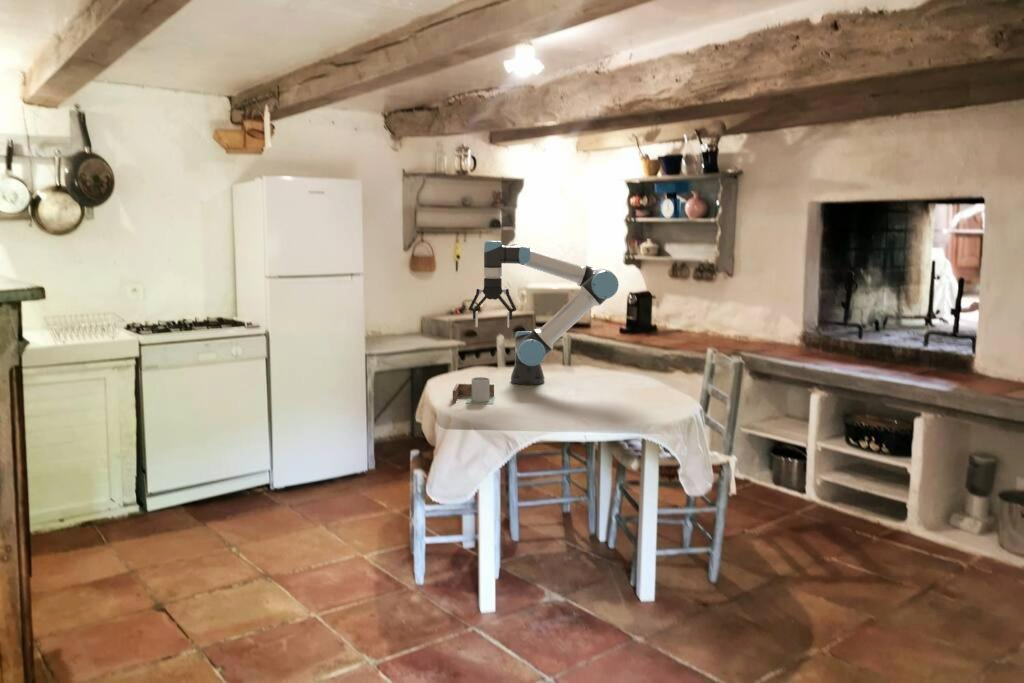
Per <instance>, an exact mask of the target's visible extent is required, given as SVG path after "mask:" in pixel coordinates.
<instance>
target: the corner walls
mask: <svg viewBox="0 0 1024 683" xmlns="http://www.w3.org/2000/svg"><path fill="white" fill-rule="evenodd" d="M468 396H472V383H456V384H455V386H454V387H453V390H452V404H456V403H457V402H456V401H458V400H459V398H460V397H468ZM458 397H459V398H458ZM489 397H495V384H491V383H490V389H489ZM457 399H458V400H457Z"/></svg>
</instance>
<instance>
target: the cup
mask: <svg viewBox="0 0 1024 683" xmlns="http://www.w3.org/2000/svg"><path fill="white" fill-rule="evenodd" d="M471 384H472V401H473V402H478V403H483V402H488V401H489V389H490V384H491V383H490V378H489V377H483V376H477V377H475V376H474V377H472V378H471Z"/></svg>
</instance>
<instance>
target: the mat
mask: <svg viewBox="0 0 1024 683" xmlns="http://www.w3.org/2000/svg"><path fill="white" fill-rule="evenodd" d="M495 399H496V397H495V396H494V397H489V401H488V402H483V403H478V402H473V401H472V396H467V399H466V401H465V403H467V404H468V405H469V404H470V405H471V404H472V405H493V404H494V402H495ZM467 404H466V405H467Z"/></svg>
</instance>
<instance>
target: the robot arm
mask: <svg viewBox="0 0 1024 683" xmlns="http://www.w3.org/2000/svg"><path fill="white" fill-rule="evenodd" d="M483 247H484V248H483V277H484V278H483V288H482V289H481V288H476V290H475V291H476V292H475V295H474V297H473V299H472V301H471V303H470V305H469V307H468V310H469V311H472V319H473V320H475V321H474V322H475V328H478V326H479V324H478V323H479V312H478V309H479V308H480V307H481V305H483V303H484V302H485V301H486V300H495V301H496V300H499V301H500V303H502V305H503V306H504V307H505V308H506V309H507V314H506V315H507V316H506V317H507V319H506V320H507V321H506V322H507V327H506V328H510V321H512V319H513V312H516V310H517V307H516V305H515V303H514V301H513V298H512V296H511V295H510V289H509V288H505V289H503V288H502V284H503V283H502V271H503V270H502V268H503V266H502V264H519V265H523V266H526V267H528V268H531V269H534V270H537V271H540V272H543V273H546V274H549V275H551V276H554V277H558V278H562V279H564V280H566V281H570V282H573V283H576V285H577V286H578V287H580V291H579V292H577V294H576V295H575V296H574V297H573V298H572V299H570V300H569V301H568V302H566V304H565V305H564V306H563V307H562V308H560V309H559V310H558V311H557V312H556V313H555V314H554V315H553V316H552V317H551V318H549V320H548V321H546V323H545V324H544V325H542V326H541V327H540V328H534V329H533V330H532V331H531V330H530V331H529V330H526V331H523V330H522V331H519V330H518V331H516V332H515V335H514V341H515V342H514V367H513V369H512V372H511V375H510V382H511V383H513V384H516V385H524V386H526V385H527V386H528V385H529V386H530V385H531V386H532V385H540V384H544V383H545V375H544V371H543V368H542V362H543V361H544V359H545V357H546V356H547V355H549V353H550V352H551V351H552V350H553V348H554V344H555V343H556V341H557V340H558V339H560V338H561V337H562V336H563V335H564V334H566V332H568V330H570V329H571V328H572V327H573V326H574V325H576V323H577V322H579V320H580V319H582V318H583V316H585V315H586V314H587V313H588V312H589V311H590V310H591V309H593V307H595V306H596V307H597V306H598V307H599V306H601V305H602V304H603V303H604V302H605V301H607V300H608V299H611V298H612V297H614V296H615V295H616V293H617V292H618V289H619V279H618V277H617V276H616V275H615V273H613V271H610V270H609V269H608V270H607V269H606V268H598V267H592V266H589V265H585V264H584V265H578V264H577V263H576V264H575V263H572V262H570V261H567V260H563V259H560V258H558V257H554V256H551V255H548V254H547V253H546V254H545V253H543V252H540V251H536V250H533V249H531V248H530V246H528V245H519V244H516V243H512V244H510V245H503V242H502V241H501V240H487V241H485V242H484V246H483ZM482 293H483V294H484V296H483V297H482V299H481V300H480V301H479V302H478V303H477V302H476V301H477V300H478V298H479V296H480V295H481V294H482ZM503 293H504V295H505V296H506V297H507V300H508V302H509V304H510V305H509V304H508V303H507V302H506V300H505V299H504V298H503V297H502V296H501V295H502V294H503ZM476 303H477V304H476ZM475 304H476V305H475ZM474 305H475V307H474ZM510 306H511V307H510Z"/></svg>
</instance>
